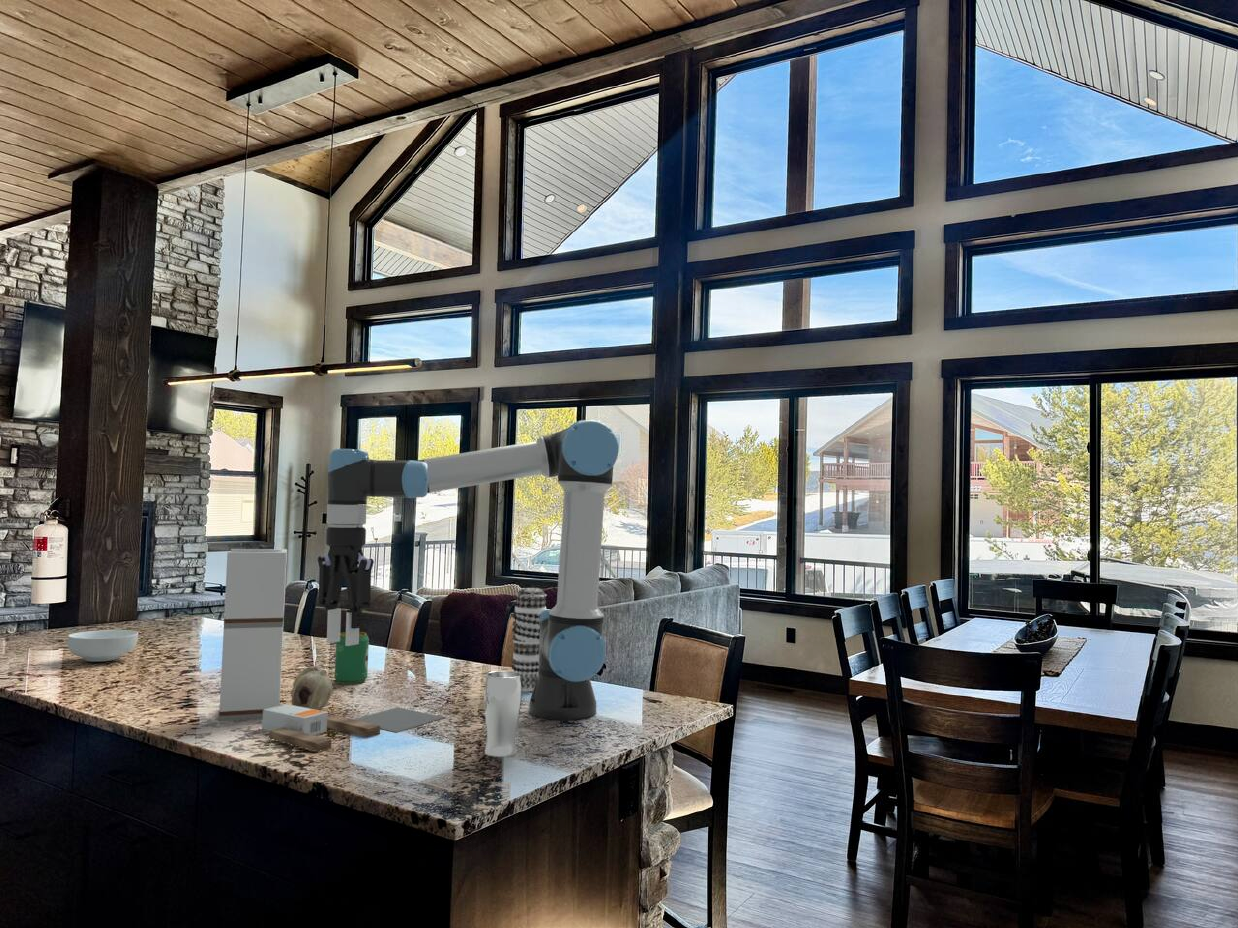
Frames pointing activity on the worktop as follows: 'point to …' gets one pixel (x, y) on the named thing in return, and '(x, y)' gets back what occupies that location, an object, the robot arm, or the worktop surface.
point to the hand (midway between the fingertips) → (342, 643)
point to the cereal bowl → (102, 644)
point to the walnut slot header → (323, 743)
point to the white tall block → (252, 632)
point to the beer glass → (502, 712)
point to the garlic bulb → (311, 688)
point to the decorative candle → (527, 635)
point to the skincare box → (295, 719)
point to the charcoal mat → (399, 719)
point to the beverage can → (351, 660)
